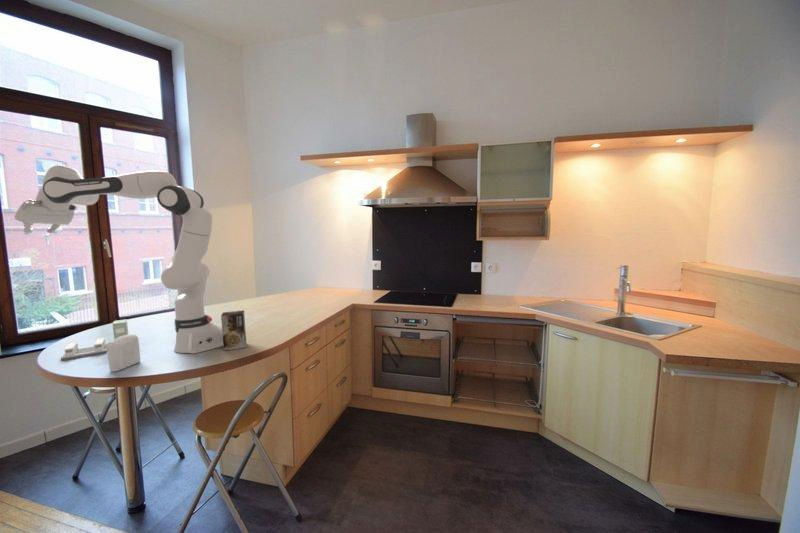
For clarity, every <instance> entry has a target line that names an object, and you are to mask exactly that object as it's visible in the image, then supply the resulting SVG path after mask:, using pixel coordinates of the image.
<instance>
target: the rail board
mask: <svg viewBox="0 0 800 533" xmlns="http://www.w3.org/2000/svg"><path fill="white" fill-rule="evenodd" d="M107 345H108V343H107V344H106V339H105V337H102V338H97V339H96V341H95V343H94V344H93V346H90V347H83V348H79V344H78V341H75V342H70V343H68V344H67V345H66V347H64V354H63V356H60V361H62V362H63V361H67V360H68V361H69V360H73V359H74V360H75V359H79V358H80V359H81V358H85V357H91V356H96V355H103V354H108V349H107Z"/></svg>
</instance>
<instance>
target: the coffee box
mask: <svg viewBox="0 0 800 533" xmlns="http://www.w3.org/2000/svg"><path fill="white" fill-rule="evenodd" d="M220 319H221V320H220V321H221V328H222V334H223V346H222V347H223V351H230V350H237V349H246V348H247V344H248V343H247V332H246V318H245V310H236V311H234V310H233V311H225V312H222V314H221V316H220Z"/></svg>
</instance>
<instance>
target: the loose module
mask: <svg viewBox="0 0 800 533" xmlns="http://www.w3.org/2000/svg"><path fill="white" fill-rule="evenodd" d="M128 325H129V324H128V319H127V318H126V319H119V320H114V321H113V322H112V331H113V340H114V339H116V338H118V337H120V336H124V335H130V334H129V326H128Z"/></svg>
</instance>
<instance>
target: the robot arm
mask: <svg viewBox="0 0 800 533" xmlns="http://www.w3.org/2000/svg"><path fill="white" fill-rule="evenodd" d="M100 195H107V196H109V195H110V196H118V197H124V198H128V199H129V198H130V199H140V200H141V199H142V200H143V199H144V200H147V199H154V198H156V199H157V202H158V204H159V205H160V206H161V207H162V208H164V209H165V210H167V211H169V212H171V213H172V214H174V215H175V216H177V217H179V216H181V218H182V225H181V230H180V232H179V233H180V234H179V238H178V241H177V242H178V243H177V247H176V249H175V252H174V253H173V256H172V258H171V260H170V262H169V264H168V265H167V267H166V268H165V269H164V270H163V271H162V273H161V275H160V281H161V283H162V285H164V287H165V288H167V289H169V290H178V291H177V296H176V298H175V299H174V303H173V304H174V305H173V306H174V314H175V315H174V317H175V318H174V331H175V333H176V335H175V336H176V337H175V344H174V348H173V351H174V352H175V353H180V354H197V353H201V352H206V351H209V350H213V349H217V348H221V347H223V334H222V326H219V325H217V324H215V323H213V322H212V321H213V318H212V317H211V316H210V315H208V314H205V313H206V312H205V299H204V298H205V291H206V284H207V280H208V278H209V275H210V268H209V266H208V265H206V264H205V263H204V262H202V260H203V258H204V257H205V255H206V254H207V251H208V247H209V244H210V238H211V234H212V226H213V215H212V213H211V212H210V210H208V209H205V208H204V204H205V201H204V198H203V196H202V195H201V194H200V193H199V192H197V191H196V190H193V189H191V188H188V187H185V186H180V185H178V183H177V180H176V179H175V177H174V175H173V174H172V173H170V172H168V171H166V170H165V171H164V170H145V171H144V170H143V171H136V172H130V173H124V174H119V175H112V176H104V177H92V178H84V177H83V176H81V174H80V173H79V171H78V170H77V169H75V168H72V167H70V166H65V165H59V164H53V165H51V166H50V167H49V168H48V169H47V170H46V173H45V175H44V176H43V179H42V186H41V187H40V188H39V190H38V191H37V194H36V197H35V200H34V199H28V200H26V201H23V203H21V204H20V206H19V207H18V209H17V210H16V212H15V214H14V219H15V221H18V222H21V223H22V224H23V232H24V233H27V234H32V233H33V231H34V229H33V228H32V226H33V225H34V224H44V225H45V224H46V225H51V226H50V227H48V228H47V230H46V233H49V234H55V232H56V231H57V229H59V228H60V227H61V225H66V226H67V225H69V224H71V222H72V221H73V219H74V216H75V211H77V208H78V206H79V205H80V206H93V205H95V204H96V203H97V202H99V200H100ZM77 205H78V206H77Z"/></svg>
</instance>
